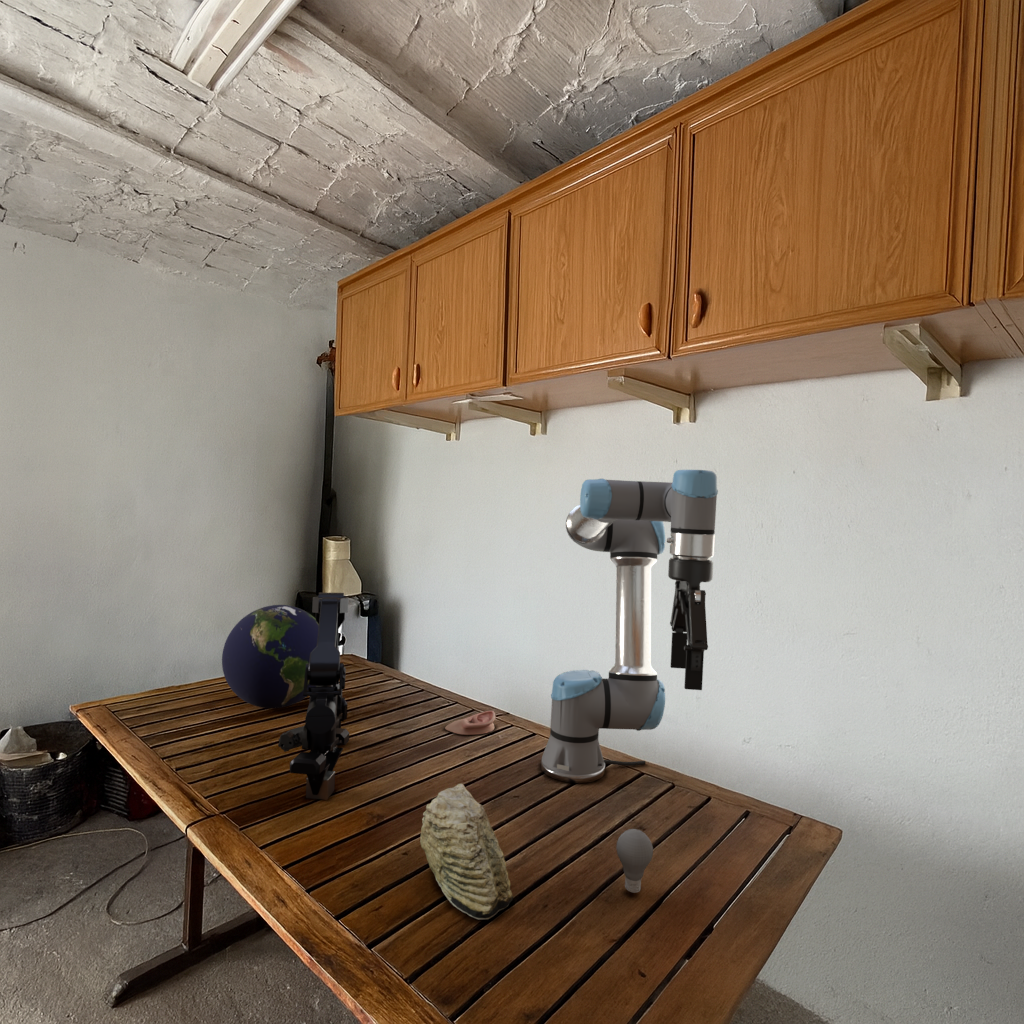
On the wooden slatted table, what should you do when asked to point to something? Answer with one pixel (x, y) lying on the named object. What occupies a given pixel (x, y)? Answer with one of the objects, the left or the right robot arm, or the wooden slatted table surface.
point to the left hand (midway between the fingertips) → (319, 789)
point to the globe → (270, 655)
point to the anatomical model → (473, 724)
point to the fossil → (465, 854)
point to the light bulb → (634, 857)
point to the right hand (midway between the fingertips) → (685, 678)
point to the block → (322, 787)
